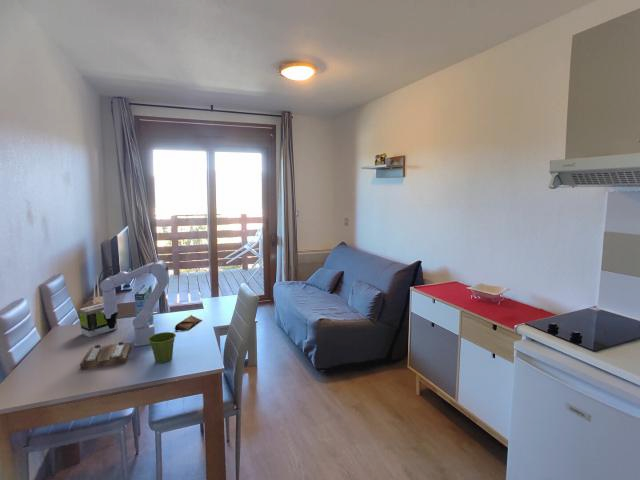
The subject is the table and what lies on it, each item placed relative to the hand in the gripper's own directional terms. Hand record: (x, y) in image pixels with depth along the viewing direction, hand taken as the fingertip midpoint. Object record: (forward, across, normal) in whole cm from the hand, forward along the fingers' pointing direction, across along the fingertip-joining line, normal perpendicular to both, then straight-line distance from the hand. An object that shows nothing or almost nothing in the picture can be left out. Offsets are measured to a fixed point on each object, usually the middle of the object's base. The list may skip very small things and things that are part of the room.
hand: (112, 327), depth 183 cm
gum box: (+10, -21, +13) cm, 26 cm away
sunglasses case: (+10, -16, +37) cm, 41 cm away
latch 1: (+6, +17, -5) cm, 18 cm away
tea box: (+10, -24, -11) cm, 28 cm away
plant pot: (+10, +27, +25) cm, 38 cm away
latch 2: (+6, +17, +5) cm, 18 cm away
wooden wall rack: (+9, +15, 0) cm, 18 cm away
